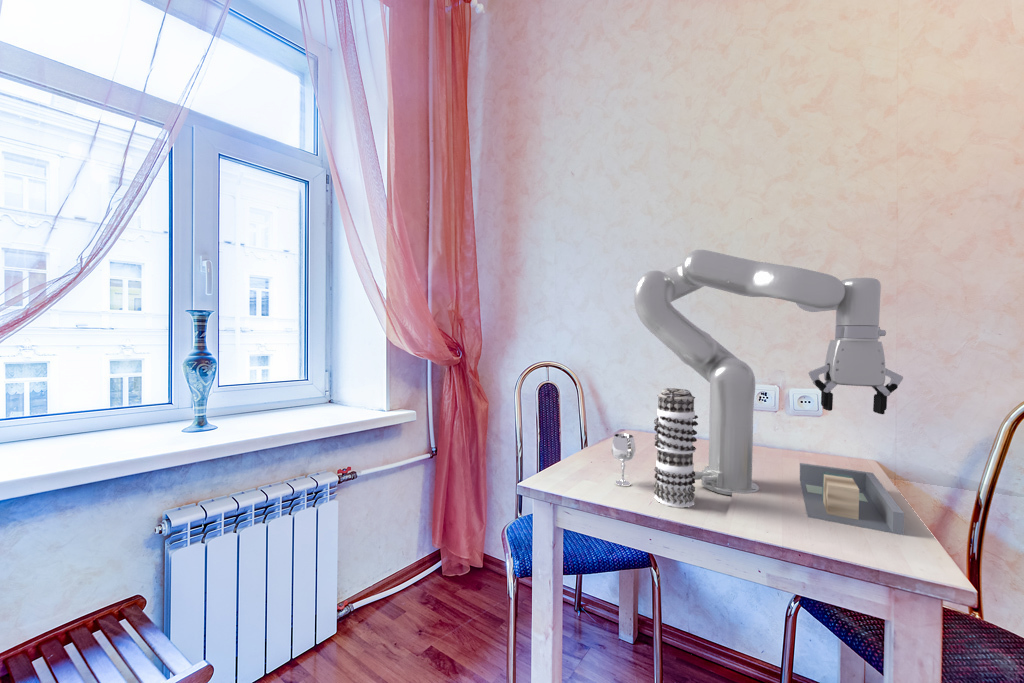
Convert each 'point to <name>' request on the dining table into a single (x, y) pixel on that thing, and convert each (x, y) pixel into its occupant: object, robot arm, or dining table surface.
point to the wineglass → (623, 451)
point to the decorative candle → (675, 448)
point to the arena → (873, 500)
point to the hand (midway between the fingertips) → (852, 411)
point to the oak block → (840, 495)
